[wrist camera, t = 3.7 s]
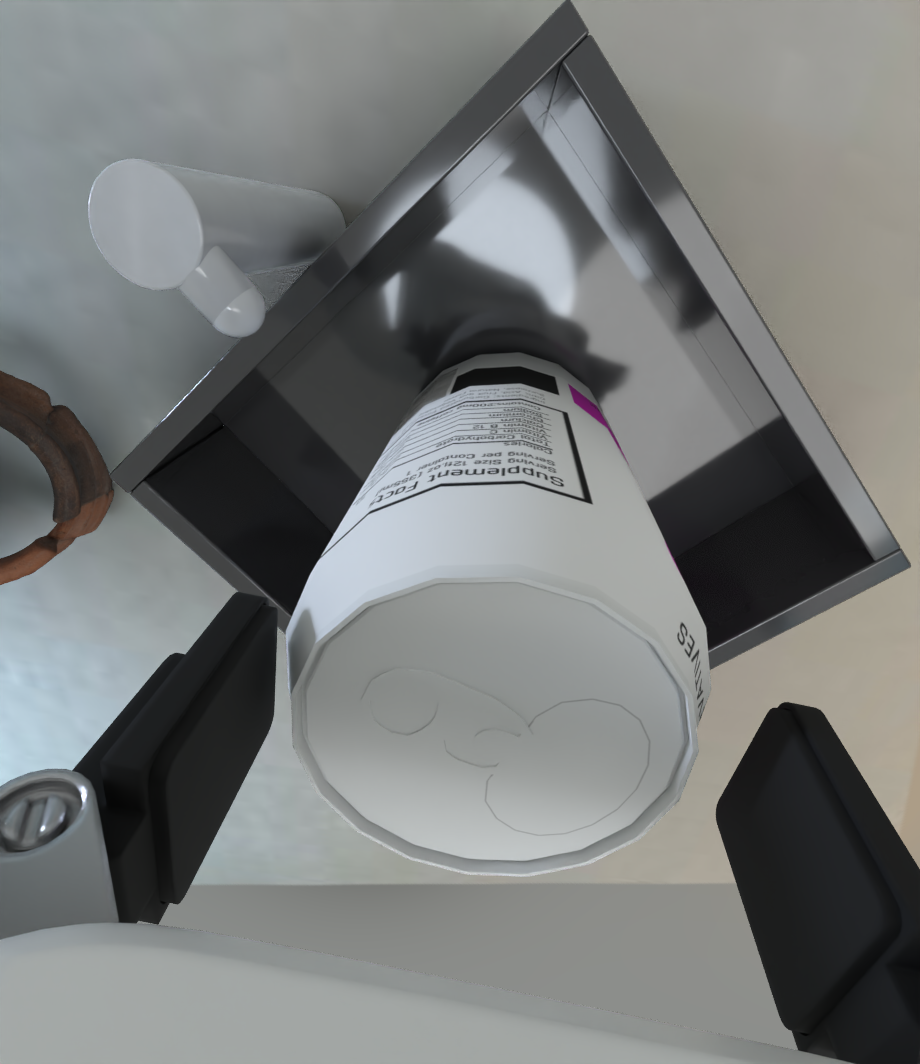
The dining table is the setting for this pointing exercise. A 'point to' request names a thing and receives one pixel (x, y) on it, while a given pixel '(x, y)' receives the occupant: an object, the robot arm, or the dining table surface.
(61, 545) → the pottery mug
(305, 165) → the dining table surface
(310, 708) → the supplement can
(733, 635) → the sink
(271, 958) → the robot arm
